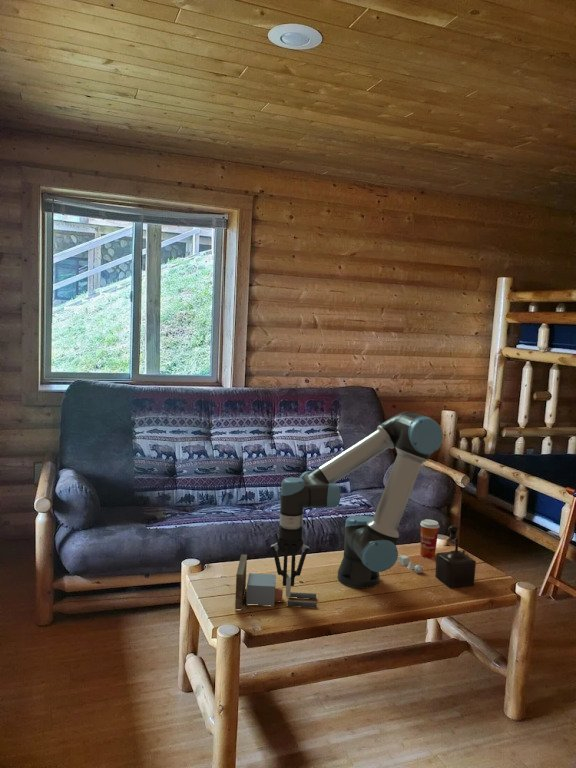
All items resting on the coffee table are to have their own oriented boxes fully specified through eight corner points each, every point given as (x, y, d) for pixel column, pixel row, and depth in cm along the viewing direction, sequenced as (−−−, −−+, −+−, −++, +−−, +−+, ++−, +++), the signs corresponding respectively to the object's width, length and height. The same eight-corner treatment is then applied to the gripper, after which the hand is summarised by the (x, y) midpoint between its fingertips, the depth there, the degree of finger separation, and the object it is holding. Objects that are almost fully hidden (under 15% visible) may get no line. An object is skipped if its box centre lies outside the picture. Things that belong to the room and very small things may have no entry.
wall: (245, 588, 202) (247, 554, 201) (241, 610, 186) (242, 574, 185) (239, 588, 202) (241, 554, 201) (234, 610, 186) (236, 574, 185)
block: (275, 593, 199) (275, 574, 198) (274, 606, 190) (275, 586, 189) (248, 592, 199) (249, 573, 198) (246, 605, 190) (247, 585, 189)
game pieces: (397, 563, 231) (398, 555, 230) (404, 562, 232) (404, 554, 232) (417, 575, 220) (417, 567, 220) (424, 574, 221) (424, 566, 221)
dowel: (282, 599, 196) (282, 587, 196) (282, 604, 192) (282, 591, 192) (252, 597, 196) (252, 585, 196) (251, 602, 192) (252, 590, 192)
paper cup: (414, 555, 239) (416, 521, 238) (423, 550, 245) (425, 517, 243) (432, 560, 234) (434, 526, 233) (440, 555, 240) (443, 522, 238)
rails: (315, 598, 197) (316, 593, 197) (316, 607, 191) (316, 603, 191) (287, 596, 198) (287, 592, 197) (287, 606, 191) (287, 601, 191)
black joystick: (476, 586, 213) (480, 538, 211) (450, 589, 209) (454, 540, 208) (451, 568, 228) (455, 523, 226) (426, 571, 224) (430, 525, 222)
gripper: (270, 528, 188) (267, 599, 190) (311, 530, 188) (307, 601, 190) (271, 520, 195) (268, 588, 198) (310, 522, 195) (307, 590, 198)
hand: (288, 594), depth 194 cm, fingers closed
